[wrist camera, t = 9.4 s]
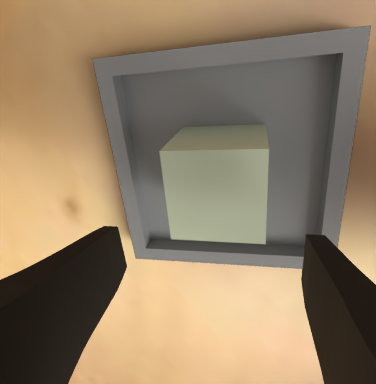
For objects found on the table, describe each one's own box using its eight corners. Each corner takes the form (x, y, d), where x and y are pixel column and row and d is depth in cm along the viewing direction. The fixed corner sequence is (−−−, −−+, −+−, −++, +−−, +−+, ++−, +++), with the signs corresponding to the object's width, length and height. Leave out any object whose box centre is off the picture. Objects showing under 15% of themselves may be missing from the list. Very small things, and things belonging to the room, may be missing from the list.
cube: (265, 123, 17) (269, 148, 12) (263, 199, 19) (265, 244, 14) (183, 127, 18) (159, 151, 13) (189, 198, 20) (171, 239, 15)
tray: (357, 29, 14) (370, 25, 13) (327, 252, 20) (334, 270, 19) (108, 58, 18) (92, 58, 16) (144, 243, 24) (135, 258, 22)
